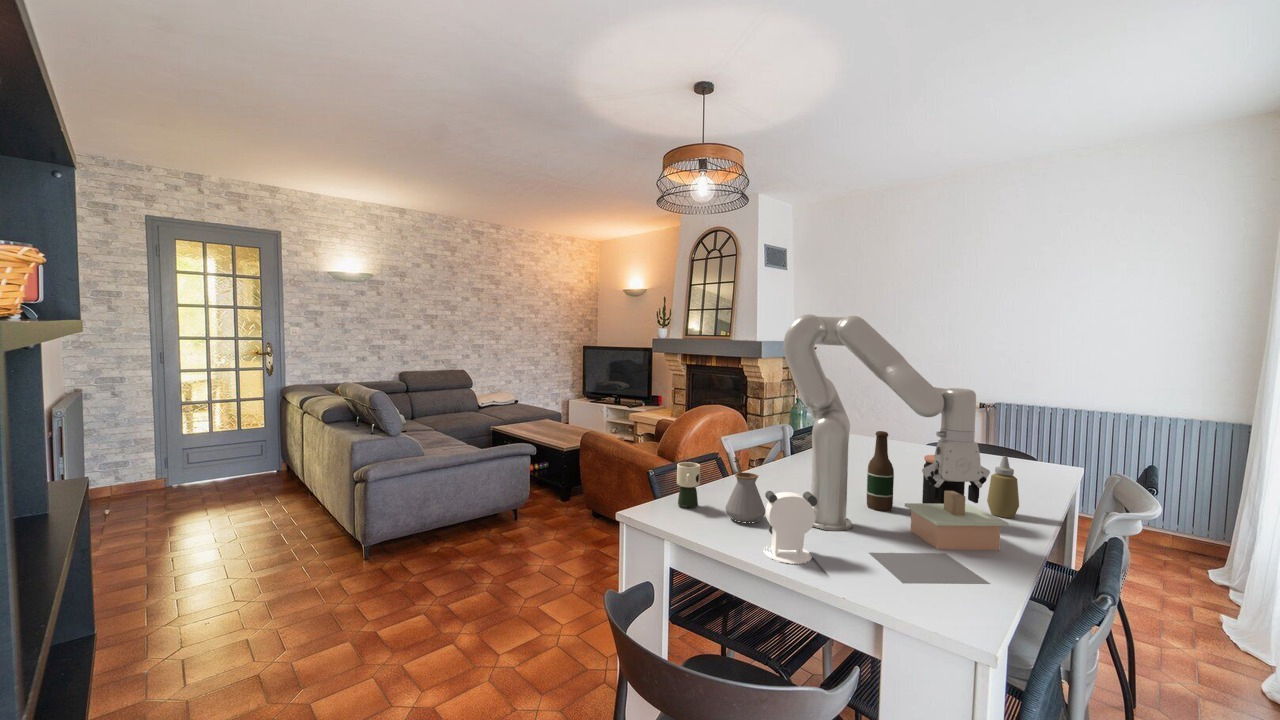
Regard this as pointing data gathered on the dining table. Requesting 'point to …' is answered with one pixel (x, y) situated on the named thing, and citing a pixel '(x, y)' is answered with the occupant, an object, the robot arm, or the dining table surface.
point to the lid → (955, 512)
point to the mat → (927, 568)
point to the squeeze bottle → (1003, 491)
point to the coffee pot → (745, 498)
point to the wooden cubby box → (956, 535)
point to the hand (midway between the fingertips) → (954, 501)
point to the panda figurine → (789, 525)
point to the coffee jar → (945, 485)
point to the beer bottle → (880, 476)
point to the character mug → (688, 483)
